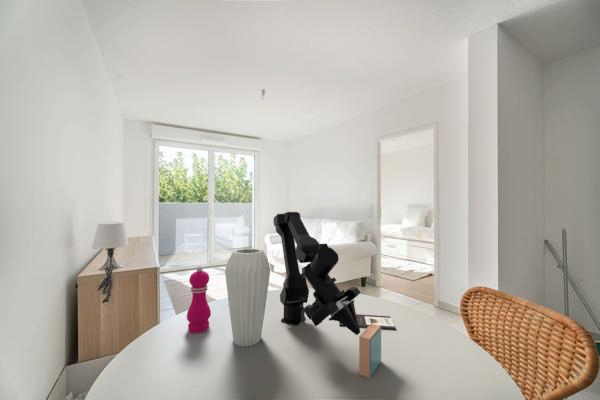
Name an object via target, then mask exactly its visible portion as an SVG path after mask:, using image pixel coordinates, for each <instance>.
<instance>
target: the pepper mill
mask: <svg viewBox="0 0 600 400" xmlns="http://www.w3.org/2000/svg"><path fill="white" fill-rule="evenodd" d="M209 281H210V276H209V273H208V272H206V271H205V270H203V266H197V267H196V271H194V272H192V273H191V275H190V277H189V285H191V287H190V289H191V290H190V292H191V293H192V297H191V298H192V299H191V302H190V305H189V306H188V307H189V308H188V310H187V312H186V320H187V322H189V323H188V324H187V325H188V326H187V331H188V332H189V333H193V334H199V333H203V332H206V331H207V330H208V329H209V328H210V321H209V319H210V317H211V316H212V315H211V314H212V312H211V307H210V305H209V303H208V301H207V291H208V285H207V284H208V283H209Z"/></svg>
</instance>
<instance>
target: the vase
mask: <svg viewBox="0 0 600 400" xmlns="http://www.w3.org/2000/svg"><path fill="white" fill-rule="evenodd" d="M224 269H225V270H224V275H225V282H226V283H225V285H226V290H227V299H228V300H227V301H228V307H229V308H228V309H229V317H230V327H231V332H232V333H231V334H232V341H233V342H232V343H234V345H235V346H236V345H237V347H240V346H241V347H242V348H243V347H249V346H250V347H252V346H253V345H254V346H255V345H256V344H258V343H259V342H261V339H262V333H263V327H264V321H265V320H264V319H265V312H266V311H265V310H266V304H267V296H268V290H269V289H268V288H269V283H270V275H271V266H270V263H269V259H268V257H267V255H266V253H265V252H264V250H263V249H260V248H241V249H235V250H233V251H232V253H231V254H230V256H229V257H228V260H227V262H226V266H225V268H224Z"/></svg>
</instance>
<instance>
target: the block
mask: <svg viewBox="0 0 600 400" xmlns="http://www.w3.org/2000/svg"><path fill="white" fill-rule="evenodd" d="M358 338H359V341H358V342H359V343H358V344H359V345H358V346H359V348H358V350H359V352H358V355H359V356H358V359H359V361H358V362H359V364H358V365H359V366H358V374H359V375H361V376H364V377H366V378H368V379H370V378H371V377H372V376H373V374H374V373H375V370H377V368H378V366H379V364H380V363H381V361H382V329H381V326H378V325H375V324H370V325H369V326H368V327H367V328H364V330H363V331H362V332H361V334H360V335H359V336H358Z"/></svg>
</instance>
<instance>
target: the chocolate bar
mask: <svg viewBox="0 0 600 400" xmlns="http://www.w3.org/2000/svg"><path fill="white" fill-rule="evenodd" d="M356 316H357V320H358V324H359V328H360V329H361V328H362V329H363V328H364V329H366V328H367V327H368V326H369V325H370V324H375V325H378V326H381V330H386V331H387V330H389V331H396V330H397V328H396V326H395V323H394V322H393V320H392V318H391V316H390V315H389V316H387V315H376V314H375V315H373V314H372V315H371V314H358V313H356ZM338 326H339V327H345V326H344V325H343V324H341V323H340V322H338Z"/></svg>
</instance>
